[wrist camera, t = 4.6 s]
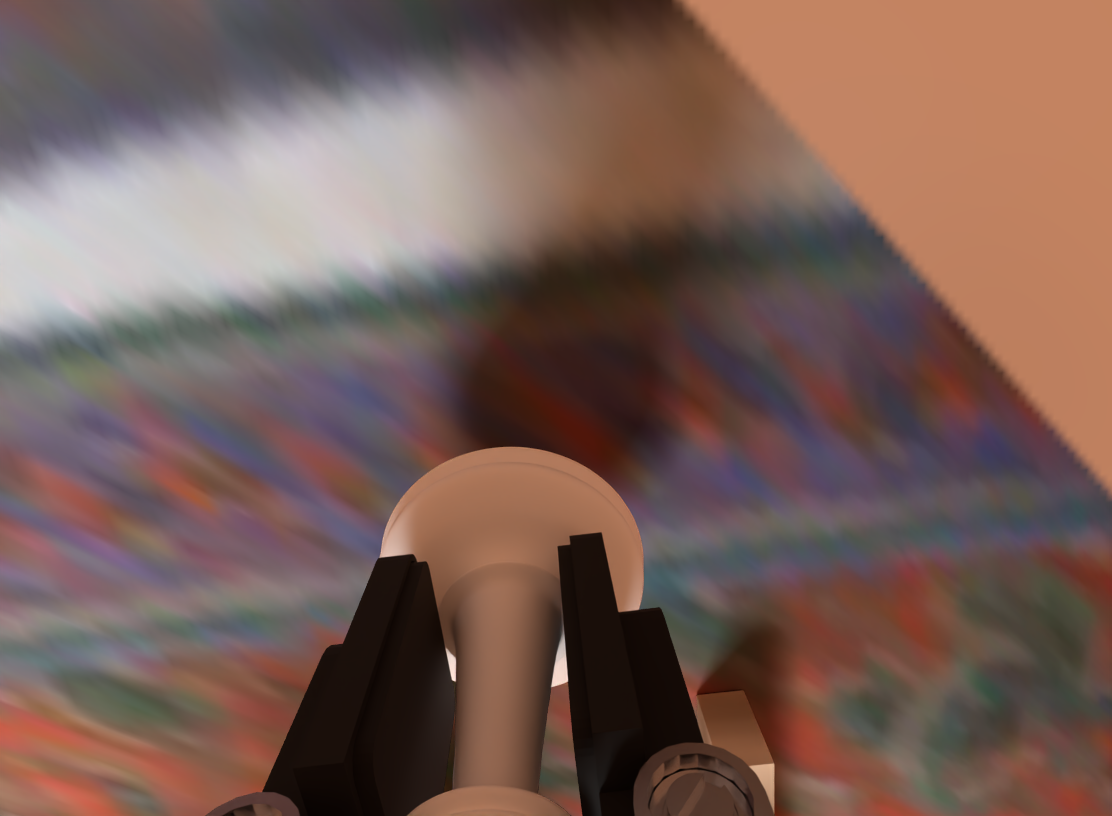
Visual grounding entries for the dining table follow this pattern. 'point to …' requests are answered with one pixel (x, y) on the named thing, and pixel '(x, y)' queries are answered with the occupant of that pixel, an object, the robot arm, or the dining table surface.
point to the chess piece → (507, 605)
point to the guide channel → (736, 733)
